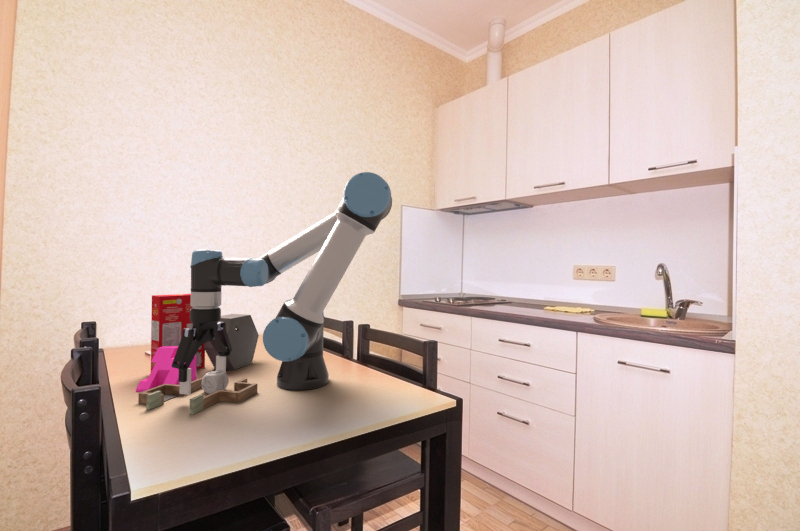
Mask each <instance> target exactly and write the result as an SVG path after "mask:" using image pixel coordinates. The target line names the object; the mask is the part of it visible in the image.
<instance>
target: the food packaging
mask: <svg viewBox="0 0 800 531" xmlns="http://www.w3.org/2000/svg"><path fill="white" fill-rule="evenodd" d="M190 301H191V293H175V294H174V293H173V294H156V295H151V322H150V323H151V326H150V331H151V333H150V336H151V337H150V372H151V371H152V369H153V368H154V366H155V364H156V362H151V360H152V358H153V357H154V355H155V353H156V351H157V349H158V348H159V347H162V346H179V344H180V341H181V338H182V331H183V329H184V328H188V329H192V327H193V323H192V322H190V309H191V308H193V307H192V306H190ZM195 341H196V339H195ZM204 345H205V343H203V345H202V346H200V347H199V349H198V351H197V353H196V355H197V365H196V370H201V369H205V368H206V365H205V364H206V351H205V349H204Z"/></svg>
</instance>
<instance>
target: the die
mask: <svg viewBox="0 0 800 531" xmlns="http://www.w3.org/2000/svg"><path fill="white" fill-rule="evenodd" d="M202 377H203V378H202ZM202 377H201V378H202V382H201V386H202V388H201V389H202V391H203V392H205V393H206V394H207V395H209V394H211V393H213V392H215V391H218V390H226V389H227V387H228V385H229V376H228V374H227V372H226V373H225V372H224V371H216V370H212V371H208V372H206V373H205V374H204V375H203V376H202Z"/></svg>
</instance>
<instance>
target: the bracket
mask: <svg viewBox="0 0 800 531" xmlns="http://www.w3.org/2000/svg"><path fill="white" fill-rule="evenodd" d="M178 347H179V346H162V347H159V348H158V349H157V351H156V353H155V355H154V357H153V358H152V360H151V359H150V363H151V362H156V364H155V366H154V368H153V369H152V371H151V370H150V373H149V375H148V377H147V378H144V379H142V380H140V381H139V383H138V384H137V387H136V388H135V393H140V392H143V391H146V390H149V389H151V388H154V387H157V386H160V385H162V384H175V385H180V382H179V369H178V368H173V367H172V363H173V360H174V357H175V355H176V352H177V349H178ZM178 363H179V362H178ZM184 364H185V363H184ZM196 365H197V355H195V357H194V358H193V360H192V362H191V364H190V366H189V368H191V382H192V381H194V380H197V369H196Z"/></svg>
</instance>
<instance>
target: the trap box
mask: <svg viewBox="0 0 800 531" xmlns="http://www.w3.org/2000/svg"><path fill="white" fill-rule="evenodd" d="M202 378H203V376H202V377H199V378H196V380H194V381H192V382H191V393H192V392H195V391H198V390H199V389H202V386H201V382H202ZM233 387H234V389H233V390H226V389H225V390H218V391H215V392H213V393H211V394H207V395H204V394H198V395H195V396H193V397H190V399H189V415H194V414H197V413H199V412H201V411H202V410H205V409H207V408H209V407H211V406H213V405H215V404H217V403H218V402H227V403H238V404H239V403H241V402H243V401H245V400H247V399H249V398H250V397H252V396H254V395H256V394H257V393H258V383H257V382H248V377H246V378H245V377H244V378H241V379H240V380H237V381H235V382H233ZM179 390H180V385H175V384H162V385H160V386H157V387H154V388H151V389H149V390H146V391H143V392H138V401H137V403H138V404H145V407H146V410H148V411H150V410H153V409H155V408H157V407H160V406H162V405H164V404H165V402H168V401H169V400H171V399H174V398H177V397H179V396H181V397H183V396H185V395H186V394H179Z"/></svg>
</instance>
